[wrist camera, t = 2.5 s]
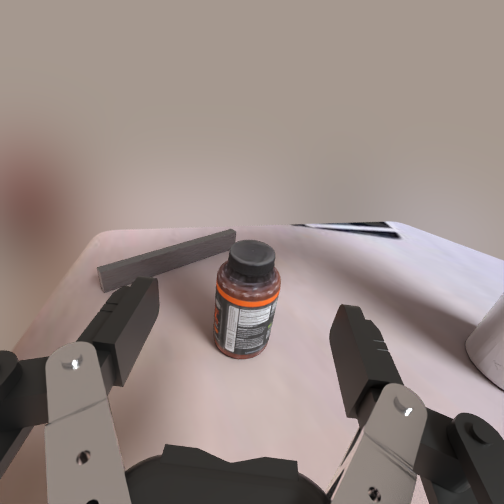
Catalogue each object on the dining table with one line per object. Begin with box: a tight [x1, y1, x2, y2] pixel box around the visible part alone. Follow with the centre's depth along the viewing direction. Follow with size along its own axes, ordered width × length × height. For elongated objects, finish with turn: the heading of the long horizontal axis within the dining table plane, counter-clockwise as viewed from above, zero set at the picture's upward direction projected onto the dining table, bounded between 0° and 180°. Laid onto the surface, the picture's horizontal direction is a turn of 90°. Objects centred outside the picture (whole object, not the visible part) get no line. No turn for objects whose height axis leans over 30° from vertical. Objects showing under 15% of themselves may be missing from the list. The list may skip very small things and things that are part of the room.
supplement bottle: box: [213, 240, 281, 359], centre depth 27 cm, size 6×6×11 cm
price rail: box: [97, 229, 236, 293], centre depth 39 cm, size 20×2×3 cm, turn 131°
